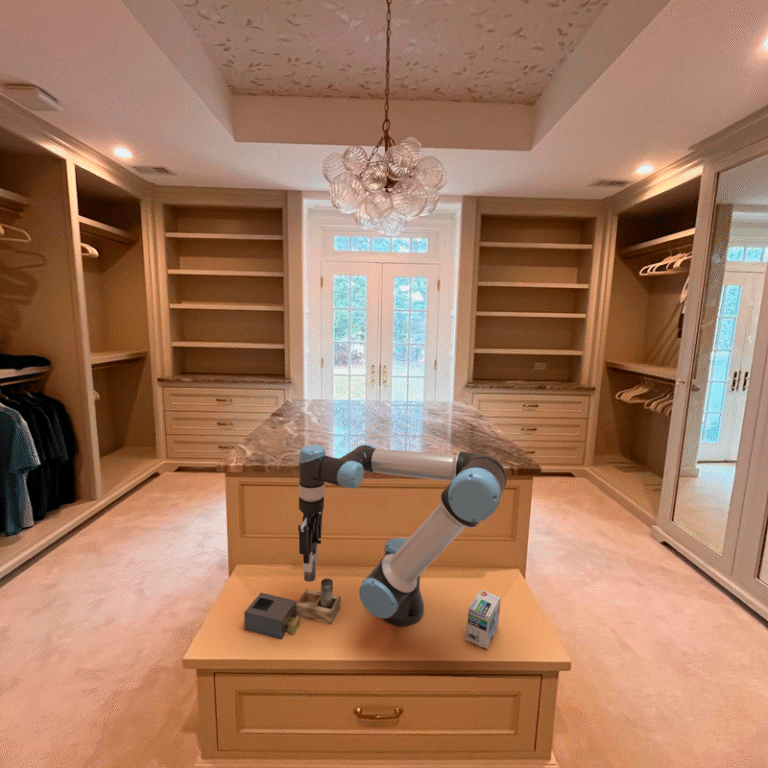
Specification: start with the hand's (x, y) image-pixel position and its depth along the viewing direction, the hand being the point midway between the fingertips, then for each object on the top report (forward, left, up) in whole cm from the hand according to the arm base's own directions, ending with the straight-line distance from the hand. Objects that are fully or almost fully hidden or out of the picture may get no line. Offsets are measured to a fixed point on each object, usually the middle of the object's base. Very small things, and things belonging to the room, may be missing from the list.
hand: (310, 566), depth 131 cm
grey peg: (0, 0, -4) cm, 4 cm away
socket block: (+9, +9, -15) cm, 19 cm away
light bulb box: (-53, -6, -15) cm, 56 cm away
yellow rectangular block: (+6, +9, -15) cm, 18 cm away
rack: (-3, 0, -15) cm, 15 cm away
